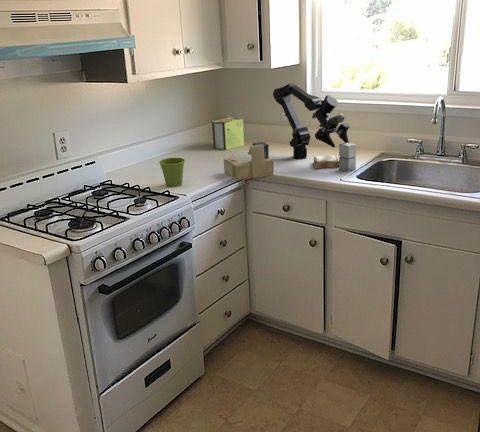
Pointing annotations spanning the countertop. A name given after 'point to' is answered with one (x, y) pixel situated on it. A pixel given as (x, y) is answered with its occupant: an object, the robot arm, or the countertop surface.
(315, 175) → the countertop surface
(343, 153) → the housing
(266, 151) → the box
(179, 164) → the plant pot
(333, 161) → the stand
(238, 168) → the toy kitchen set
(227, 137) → the protein box
